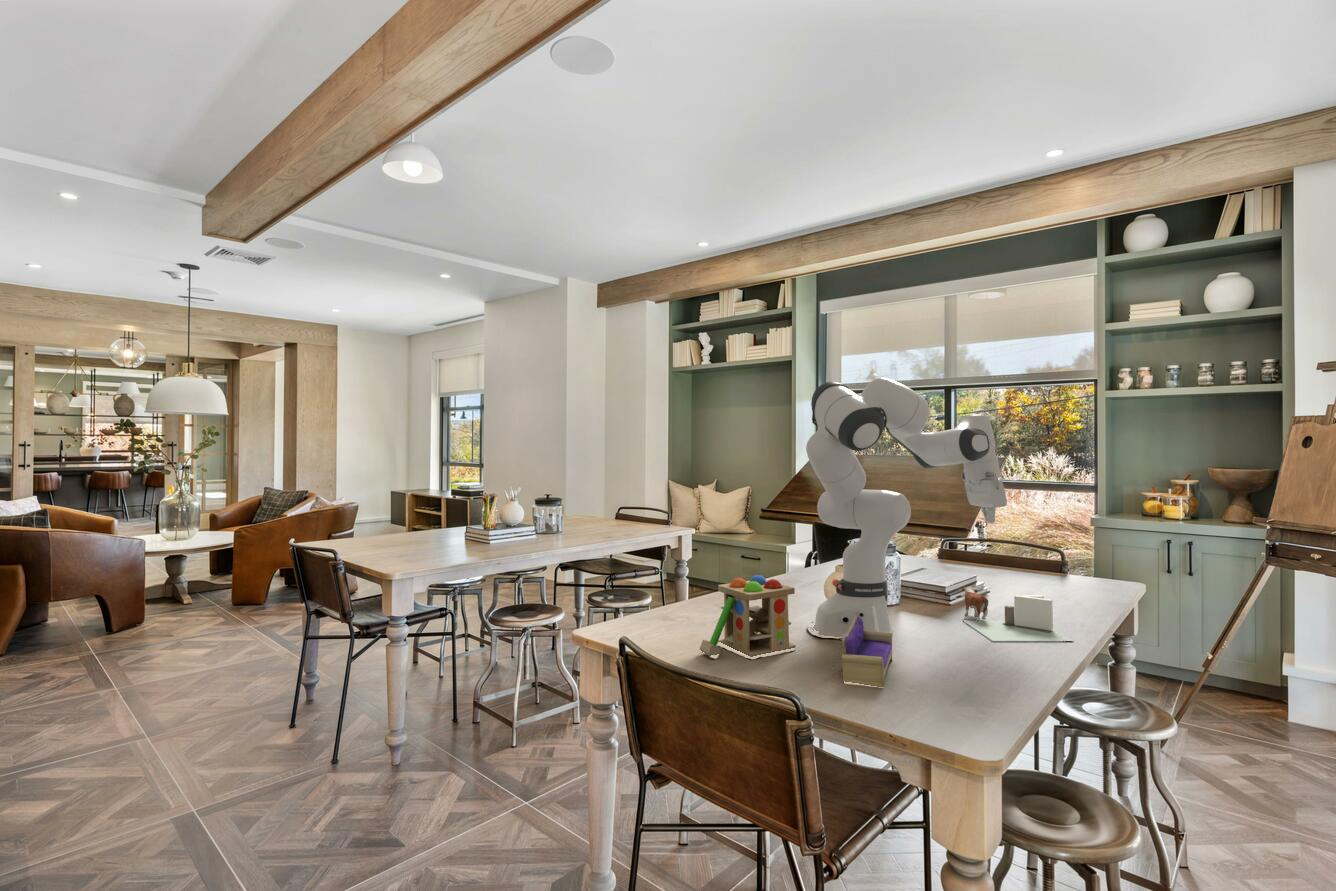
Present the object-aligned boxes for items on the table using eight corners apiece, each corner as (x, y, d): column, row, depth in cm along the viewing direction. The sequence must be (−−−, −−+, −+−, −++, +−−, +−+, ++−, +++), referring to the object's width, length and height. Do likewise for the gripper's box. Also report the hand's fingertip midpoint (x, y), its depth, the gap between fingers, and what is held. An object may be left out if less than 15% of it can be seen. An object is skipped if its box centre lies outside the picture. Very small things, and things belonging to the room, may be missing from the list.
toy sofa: (884, 691, 137) (883, 641, 137) (841, 685, 140) (840, 637, 140) (893, 661, 156) (892, 617, 156) (856, 656, 159) (855, 614, 160)
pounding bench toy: (721, 667, 153) (720, 590, 153) (689, 651, 166) (688, 580, 166) (797, 651, 165) (795, 579, 165) (761, 637, 177) (760, 570, 177)
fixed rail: (1007, 625, 182) (1006, 596, 182) (1003, 623, 185) (1002, 595, 185) (1045, 625, 181) (1044, 596, 182) (1041, 623, 184) (1040, 594, 184)
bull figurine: (974, 612, 199) (973, 585, 200) (991, 622, 186) (991, 593, 186) (959, 612, 200) (958, 585, 200) (975, 621, 186) (975, 592, 187)
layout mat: (992, 642, 169) (992, 640, 169) (963, 621, 189) (963, 620, 189) (1073, 642, 167) (1073, 640, 167) (1035, 621, 187) (1035, 620, 187)
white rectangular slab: (1014, 625, 182) (1014, 596, 182) (1016, 623, 183) (1015, 595, 183) (1051, 630, 176) (1050, 600, 176) (1053, 629, 177) (1052, 599, 177)
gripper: (1008, 470, 171) (1017, 523, 170) (981, 471, 192) (989, 519, 191) (983, 473, 172) (991, 526, 171) (959, 474, 192) (966, 521, 191)
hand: (990, 522), depth 181 cm, fingers closed
